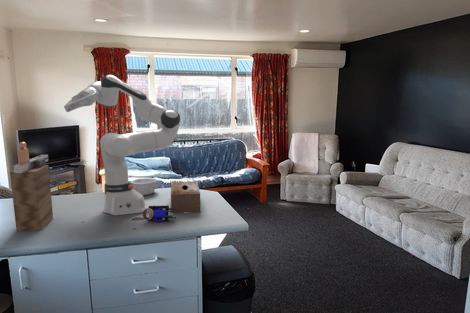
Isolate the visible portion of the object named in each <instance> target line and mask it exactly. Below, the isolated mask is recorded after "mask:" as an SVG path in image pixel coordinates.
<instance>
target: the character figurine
mask: <svg viewBox="0 0 470 313" xmlns="http://www.w3.org/2000/svg"><path fill="white" fill-rule="evenodd" d="M171 210H175V208H171V207H170V206H169V204H167V205H149V208H147V209H145V210H144V211H143V213H142V217H143V219H145V220H147V221H156V222H158V223H161V222H162V221H169V219H171V220H172V219H174V220H175V219H177V216H174V215H169V214H170V213H171V212H174V211H171Z"/></svg>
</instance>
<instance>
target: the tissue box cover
mask: <svg viewBox="0 0 470 313" xmlns="http://www.w3.org/2000/svg"><path fill="white" fill-rule="evenodd" d="M170 186H171V187H170V208H175V210H170V211H174V212H170V214H171V213H175V214H185V213H184V212H193V213H200V212H201V191H200V188H199V184H198V181H196V180H195V181H174V182H173V181H172V182H171V185H170ZM199 211H200V212H199Z"/></svg>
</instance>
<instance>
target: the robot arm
mask: <svg viewBox="0 0 470 313" xmlns="http://www.w3.org/2000/svg"><path fill="white" fill-rule="evenodd" d="M120 92H122V93H123V94H126V95H127V96H129V97H131V99H132V100H133V102H134V106H135V110H136V113H137V115H138V117H139V118H141V119H142V120H144V121H145V122H149V123H151V124H155V125H157V126H158V127H157V129H147V130H138V131H133V132H129V133H123V134H121V133H120V134H119V133H114V132H109V133H106V134H104V135H103V136H102V137H101V138H100V141H99V146H100V153H101V157H102V158H101V159H102V163H103V169H104V182H105V183H104V187H103V188H104V195H105V198H104V199H105V201H104V208H103V212H104V213H106V214H108V215H109V214H110V215H112V216H121V215H122V216H123V215H132V214H139V213H140V214H141V213H142V214H143V211H144V210H145V209H147V208H149V206H150V204H149V203H147V202H145V197H144V195H142V194H140V193H138V192H137V191H135V190H134V189H133V184H132V183H131V182H130V181H129V170H128V164H127V161H126V157H128V156H133V155H136V154H140V153H146V152H153V151H154V152H155V151H159V150H163V149H167V148H169V147H171V146H173V144H174V143H175V141H176V137H177V134H178V132H179V128H180V123H181V114H179V113H180V112H179V113H178V111H176V110H174V109H167V108H166V107H165V106H162V105H160V104H157V103H155V102H153V101H151V100H150V98H148V96H147V95H146V94H145V93H144V92H142V91H141V90H139V89H137V88H136V87H134V86H132V85H130V84H128V83H126V81H123V80H121V78H118V77H117V76H115V75H113V74H106V75H104V76H103V77H102V78H101V80H99V81H98V80H97V81H95V82H92V83H90V84H89V85H87V87H85V88H84V89H82V90H81V91H79V92H78V93H77V94H76V95H73V96H72V97H71V99H70V100H68V102H67V103H65V104H64V105H63V109H64V110H65V112H66V113H69V112H71V111H74V110H76V109H80V108H83V107H90V106H92V105H94V104H95V103H97V104H98V105H100V106H102V107H105V108H113V107H115V106H116V105H118V101H119V94H120Z"/></svg>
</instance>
